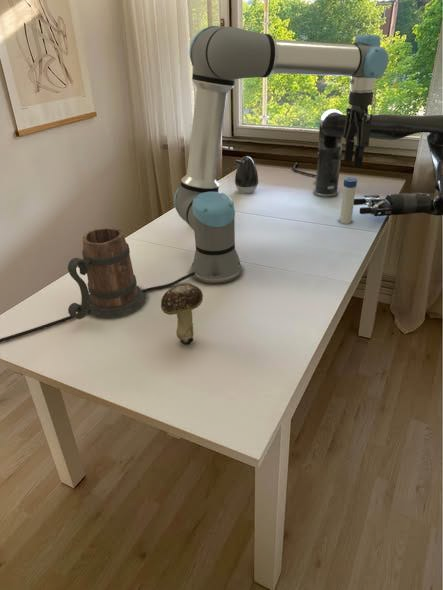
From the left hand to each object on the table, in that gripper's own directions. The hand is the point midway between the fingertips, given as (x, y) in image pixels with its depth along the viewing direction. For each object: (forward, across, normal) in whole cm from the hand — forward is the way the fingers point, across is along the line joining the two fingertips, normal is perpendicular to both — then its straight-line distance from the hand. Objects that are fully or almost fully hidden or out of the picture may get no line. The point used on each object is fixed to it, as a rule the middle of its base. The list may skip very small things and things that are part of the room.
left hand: (352, 163), depth 153 cm
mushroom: (+21, +57, -67) cm, 91 cm away
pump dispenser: (+21, -42, -27) cm, 55 cm away
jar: (+21, 0, 0) cm, 21 cm away
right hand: (+15, +1, +3) cm, 16 cm away
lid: (+6, 0, 0) cm, 6 cm away
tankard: (+21, +36, -86) cm, 96 cm away
